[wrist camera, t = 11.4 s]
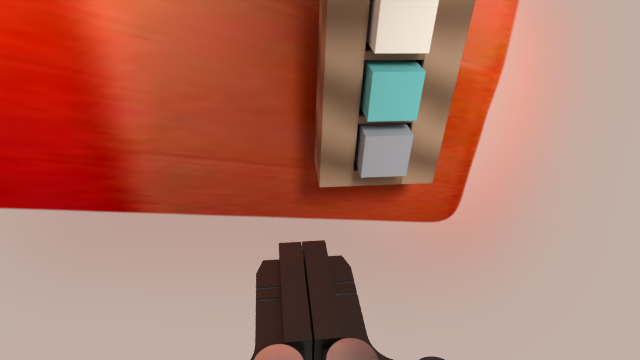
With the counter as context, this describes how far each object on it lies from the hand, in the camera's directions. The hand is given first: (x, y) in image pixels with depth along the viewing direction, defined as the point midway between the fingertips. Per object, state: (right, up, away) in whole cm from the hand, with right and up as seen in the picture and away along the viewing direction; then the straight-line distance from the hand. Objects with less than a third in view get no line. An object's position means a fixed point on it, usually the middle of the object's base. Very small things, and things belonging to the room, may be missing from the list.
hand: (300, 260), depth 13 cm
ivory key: (+7, +17, +21) cm, 28 cm away
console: (+6, +14, +27) cm, 31 cm away
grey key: (+6, +7, +28) cm, 30 cm away
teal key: (+7, +12, +25) cm, 28 cm away
